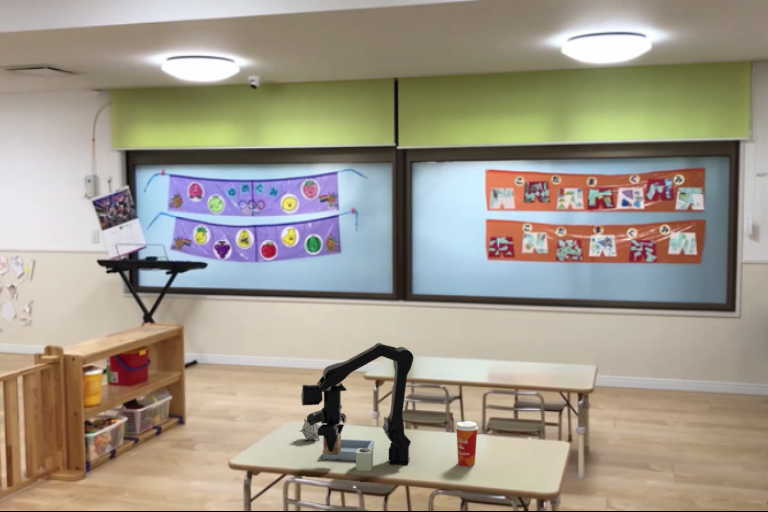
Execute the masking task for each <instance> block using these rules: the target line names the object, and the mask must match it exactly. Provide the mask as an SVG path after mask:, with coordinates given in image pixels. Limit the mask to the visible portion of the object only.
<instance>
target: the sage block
mask: <svg viewBox="0 0 768 512" xmlns="http://www.w3.org/2000/svg"><path fill="white" fill-rule="evenodd" d="M373 467H374V450H373V449H368V448H358V450H357V452H356V461H355V471H363V472H365V471H366V472H367V471H368V472H371V471H372V469H373Z"/></svg>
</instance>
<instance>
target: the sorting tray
mask: <svg viewBox="0 0 768 512" xmlns="http://www.w3.org/2000/svg"><path fill="white" fill-rule="evenodd" d="M358 448H368V449H374V450H375V440H373V439H372V440H370V439H349V438H341V451H340V453H339V454H338V455H328V454H324V449H322V460H335V459H341V461H343V460H344V461H355V462H356V452H357V450H358Z"/></svg>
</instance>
